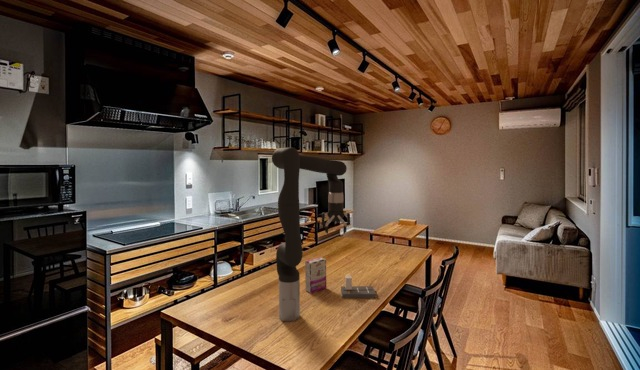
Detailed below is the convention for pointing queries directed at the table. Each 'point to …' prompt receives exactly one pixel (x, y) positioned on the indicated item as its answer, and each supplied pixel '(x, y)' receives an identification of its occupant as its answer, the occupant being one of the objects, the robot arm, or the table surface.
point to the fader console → (358, 292)
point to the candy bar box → (315, 274)
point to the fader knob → (348, 282)
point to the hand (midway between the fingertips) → (335, 233)
